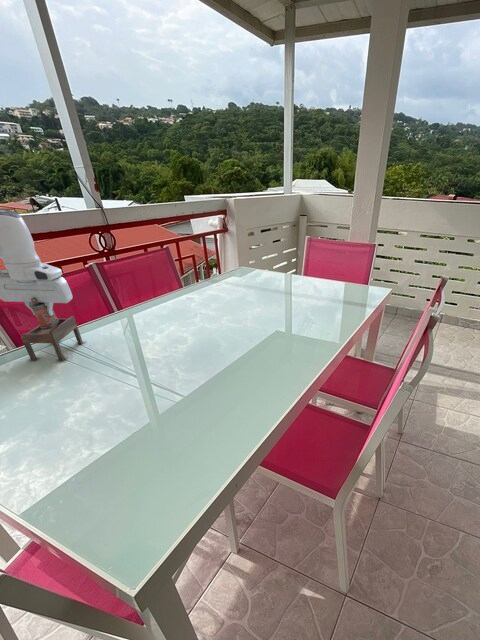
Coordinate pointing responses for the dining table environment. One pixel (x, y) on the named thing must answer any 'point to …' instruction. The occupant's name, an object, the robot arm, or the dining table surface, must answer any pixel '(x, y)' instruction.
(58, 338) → the stand
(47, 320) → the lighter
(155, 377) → the dining table surface
